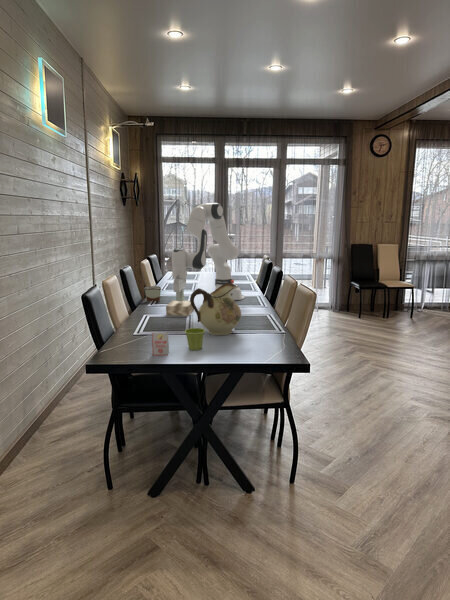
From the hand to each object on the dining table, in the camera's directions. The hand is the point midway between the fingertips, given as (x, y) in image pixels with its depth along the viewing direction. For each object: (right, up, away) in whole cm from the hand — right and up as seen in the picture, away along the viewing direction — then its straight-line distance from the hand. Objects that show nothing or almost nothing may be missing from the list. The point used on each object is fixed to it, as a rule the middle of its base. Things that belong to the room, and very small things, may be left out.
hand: (180, 296), depth 263 cm
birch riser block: (0, -10, +2) cm, 11 cm away
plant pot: (+14, -25, -67) cm, 73 cm away
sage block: (0, -3, +1) cm, 3 cm away
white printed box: (-1, -27, -74) cm, 79 cm away
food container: (-22, -3, +36) cm, 42 cm away
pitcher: (+25, -19, -42) cm, 53 cm away
